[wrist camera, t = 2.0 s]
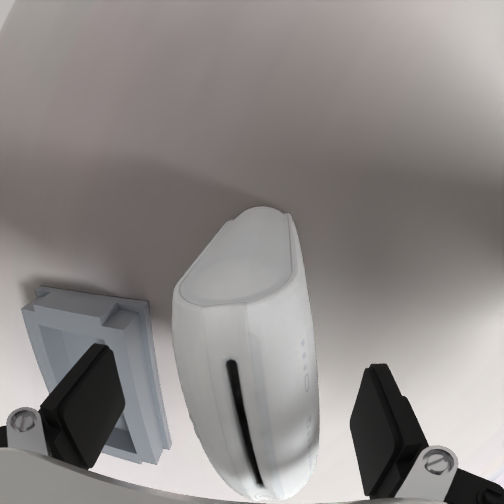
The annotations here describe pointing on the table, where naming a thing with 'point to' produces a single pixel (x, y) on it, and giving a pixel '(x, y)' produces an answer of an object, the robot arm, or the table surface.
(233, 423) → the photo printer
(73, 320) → the end holder
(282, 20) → the table surface
